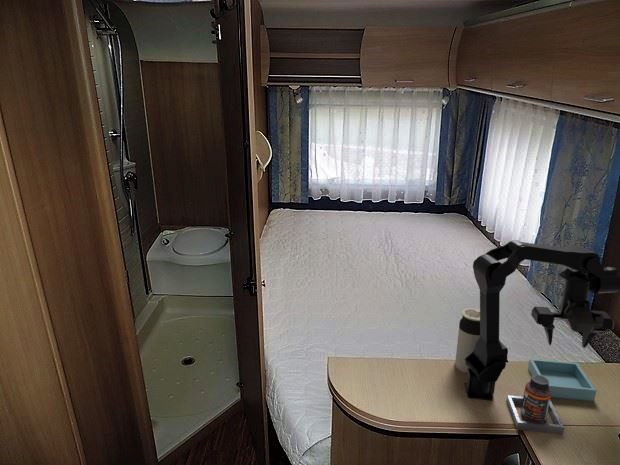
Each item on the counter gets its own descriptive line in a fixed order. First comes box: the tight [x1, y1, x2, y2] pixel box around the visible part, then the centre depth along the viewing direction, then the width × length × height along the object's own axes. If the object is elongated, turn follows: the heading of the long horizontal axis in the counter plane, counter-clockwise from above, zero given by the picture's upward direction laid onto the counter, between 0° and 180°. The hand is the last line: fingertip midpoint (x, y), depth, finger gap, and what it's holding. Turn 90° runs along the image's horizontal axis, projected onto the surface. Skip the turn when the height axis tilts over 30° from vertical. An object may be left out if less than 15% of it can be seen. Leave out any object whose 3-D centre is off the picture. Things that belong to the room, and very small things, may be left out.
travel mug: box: [454, 307, 480, 374], centre depth 132 cm, size 8×8×18 cm
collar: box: [505, 394, 565, 435], centre depth 114 cm, size 11×11×2 cm
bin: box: [527, 358, 597, 403], centre depth 126 cm, size 13×13×4 cm
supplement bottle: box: [520, 375, 552, 423], centre depth 112 cm, size 6×6×11 cm
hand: (566, 345), depth 122 cm, fingers open, 8 cm apart
